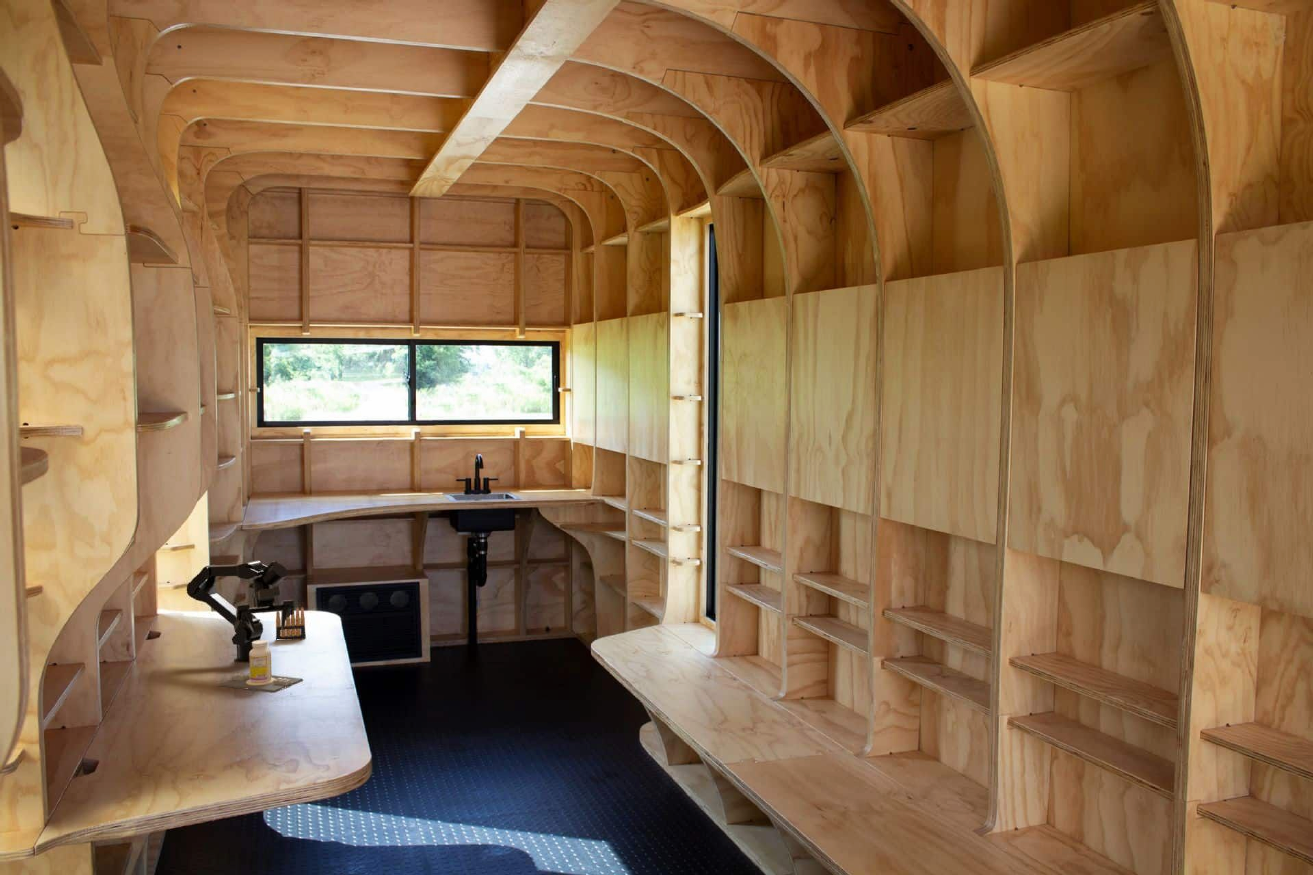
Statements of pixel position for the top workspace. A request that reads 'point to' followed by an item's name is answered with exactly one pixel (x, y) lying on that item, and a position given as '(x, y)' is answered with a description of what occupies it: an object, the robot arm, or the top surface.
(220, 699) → the top surface
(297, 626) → the ammunition clip
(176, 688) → the top surface
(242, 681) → the curved gray panel
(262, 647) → the supplement bottle
